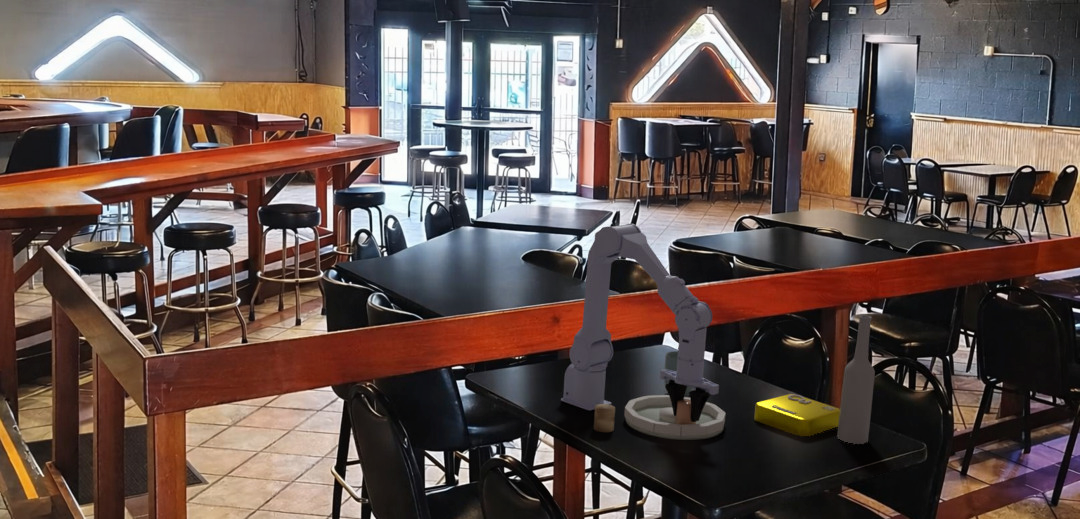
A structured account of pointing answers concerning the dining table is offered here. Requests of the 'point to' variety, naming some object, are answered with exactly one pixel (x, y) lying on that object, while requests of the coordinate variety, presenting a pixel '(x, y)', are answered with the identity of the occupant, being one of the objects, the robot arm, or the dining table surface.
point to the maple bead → (604, 418)
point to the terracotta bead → (684, 412)
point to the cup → (673, 367)
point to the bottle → (857, 390)
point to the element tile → (797, 415)
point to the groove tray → (671, 419)
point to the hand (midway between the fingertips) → (686, 417)
